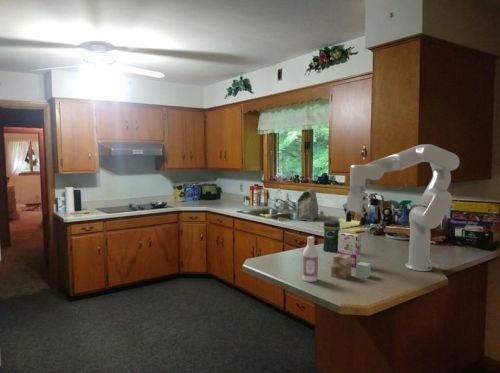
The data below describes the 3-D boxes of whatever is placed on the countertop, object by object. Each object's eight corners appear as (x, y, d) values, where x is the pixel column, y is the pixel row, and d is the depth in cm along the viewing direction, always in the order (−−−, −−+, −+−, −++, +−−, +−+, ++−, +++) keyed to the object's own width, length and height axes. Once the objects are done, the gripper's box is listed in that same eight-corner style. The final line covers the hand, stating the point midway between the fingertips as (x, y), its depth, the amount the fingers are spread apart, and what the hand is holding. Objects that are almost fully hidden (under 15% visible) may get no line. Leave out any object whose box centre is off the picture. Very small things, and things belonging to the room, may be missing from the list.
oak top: (350, 266, 175) (350, 255, 175) (345, 269, 171) (345, 258, 170) (338, 263, 179) (338, 253, 179) (333, 266, 174) (333, 256, 174)
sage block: (370, 275, 176) (370, 263, 176) (366, 278, 172) (366, 266, 172) (360, 273, 179) (360, 261, 179) (355, 276, 176) (356, 264, 175)
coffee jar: (340, 249, 224) (341, 219, 222) (337, 253, 217) (338, 221, 215) (324, 248, 228) (325, 218, 226) (321, 251, 221) (322, 220, 219)
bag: (301, 216, 342) (302, 187, 340) (319, 217, 336) (319, 188, 334) (295, 220, 321) (295, 189, 319) (313, 222, 315) (314, 190, 313)
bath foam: (302, 281, 167) (302, 238, 166) (302, 276, 174) (303, 235, 172) (317, 282, 166) (318, 239, 164) (317, 277, 173) (318, 235, 171)
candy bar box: (360, 265, 192) (361, 234, 190) (355, 267, 188) (356, 236, 187) (341, 261, 200) (342, 231, 198) (336, 263, 196) (337, 232, 195)
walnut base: (351, 276, 176) (351, 265, 176) (344, 280, 171) (345, 269, 170) (337, 273, 180) (337, 263, 180) (331, 276, 175) (331, 266, 174)
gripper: (376, 190, 178) (374, 225, 180) (349, 187, 193) (348, 220, 195) (365, 191, 175) (364, 227, 176) (339, 188, 189) (337, 221, 191)
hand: (355, 223), depth 185 cm, fingers open, 9 cm apart
